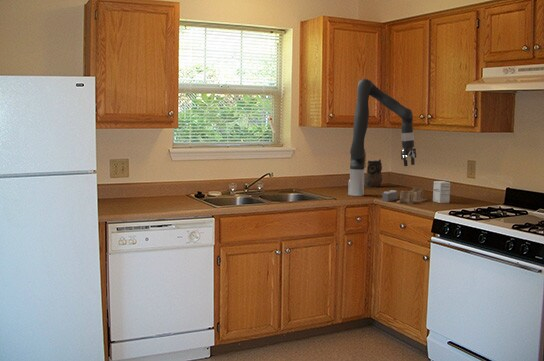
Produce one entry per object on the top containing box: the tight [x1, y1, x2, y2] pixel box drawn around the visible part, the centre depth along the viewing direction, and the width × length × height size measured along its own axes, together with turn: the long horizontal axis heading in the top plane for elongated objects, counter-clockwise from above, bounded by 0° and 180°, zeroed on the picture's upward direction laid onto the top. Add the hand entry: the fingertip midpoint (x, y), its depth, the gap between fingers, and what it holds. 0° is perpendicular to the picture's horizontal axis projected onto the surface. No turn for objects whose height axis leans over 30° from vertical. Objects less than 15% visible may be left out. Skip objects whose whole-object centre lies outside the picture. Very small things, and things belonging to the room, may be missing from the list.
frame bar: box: [381, 189, 399, 202], centre depth 398 cm, size 4×14×6 cm, turn 143°
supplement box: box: [432, 180, 451, 204], centre depth 391 cm, size 7×7×13 cm
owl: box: [364, 159, 383, 189], centre depth 465 cm, size 13×13×20 cm
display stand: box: [396, 187, 427, 205], centre depth 393 cm, size 10×20×7 cm, turn 143°
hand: (409, 165), depth 406 cm, fingers open, 8 cm apart
